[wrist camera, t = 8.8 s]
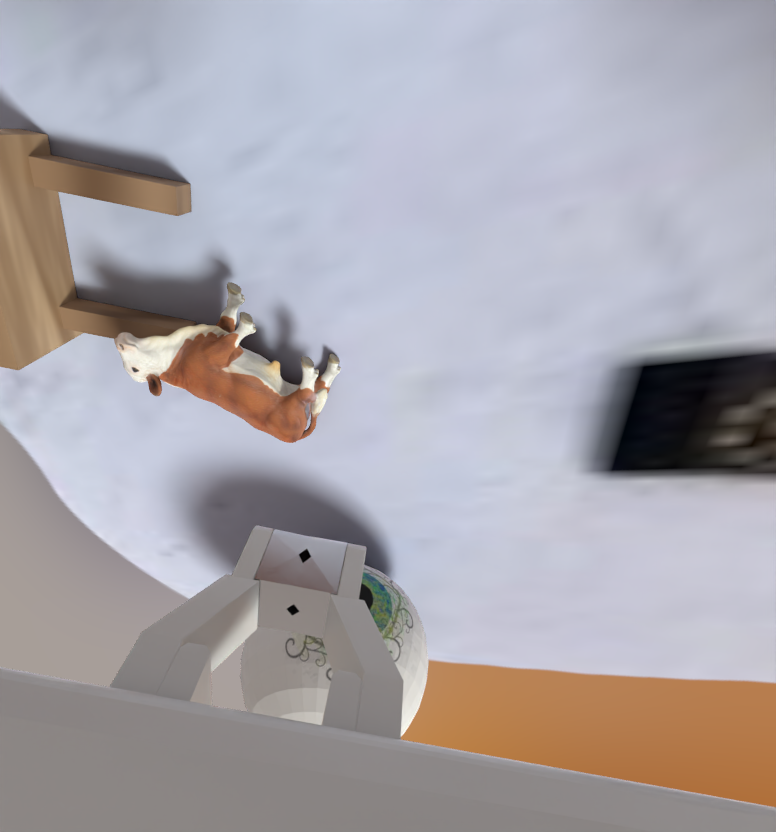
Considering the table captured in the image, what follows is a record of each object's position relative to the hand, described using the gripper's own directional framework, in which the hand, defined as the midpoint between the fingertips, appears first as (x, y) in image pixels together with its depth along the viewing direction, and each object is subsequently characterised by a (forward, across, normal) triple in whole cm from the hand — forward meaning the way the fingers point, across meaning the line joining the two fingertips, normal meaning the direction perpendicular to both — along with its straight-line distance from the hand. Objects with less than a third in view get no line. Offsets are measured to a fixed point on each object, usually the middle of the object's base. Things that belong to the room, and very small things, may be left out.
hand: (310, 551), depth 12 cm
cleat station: (+20, +16, 0) cm, 26 cm away
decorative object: (+20, -2, +27) cm, 34 cm away
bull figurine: (+18, +6, +2) cm, 19 cm away
